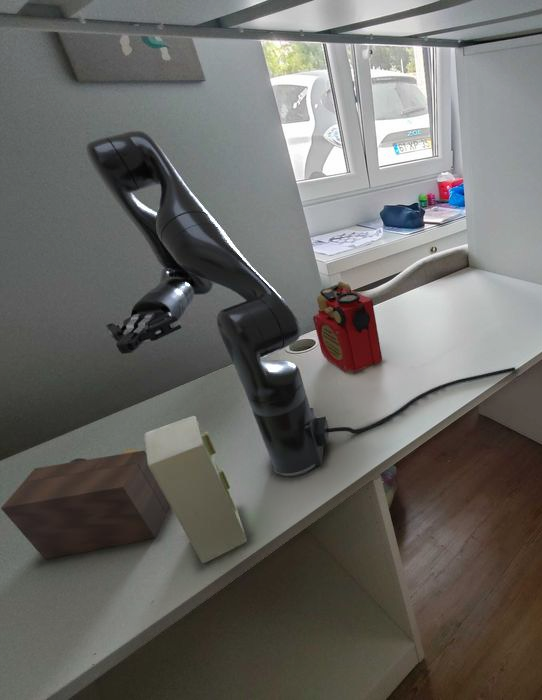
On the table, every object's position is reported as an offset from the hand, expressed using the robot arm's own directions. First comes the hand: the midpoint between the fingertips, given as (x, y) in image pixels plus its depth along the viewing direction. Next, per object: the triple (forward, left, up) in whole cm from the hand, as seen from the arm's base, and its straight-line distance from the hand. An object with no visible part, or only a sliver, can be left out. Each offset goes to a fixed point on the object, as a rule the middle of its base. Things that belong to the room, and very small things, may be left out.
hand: (124, 348), depth 78 cm
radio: (-35, -26, -24) cm, 50 cm away
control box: (+4, +17, -24) cm, 29 cm away
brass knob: (0, +13, -18) cm, 22 cm away
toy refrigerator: (-15, +24, -24) cm, 37 cm away
